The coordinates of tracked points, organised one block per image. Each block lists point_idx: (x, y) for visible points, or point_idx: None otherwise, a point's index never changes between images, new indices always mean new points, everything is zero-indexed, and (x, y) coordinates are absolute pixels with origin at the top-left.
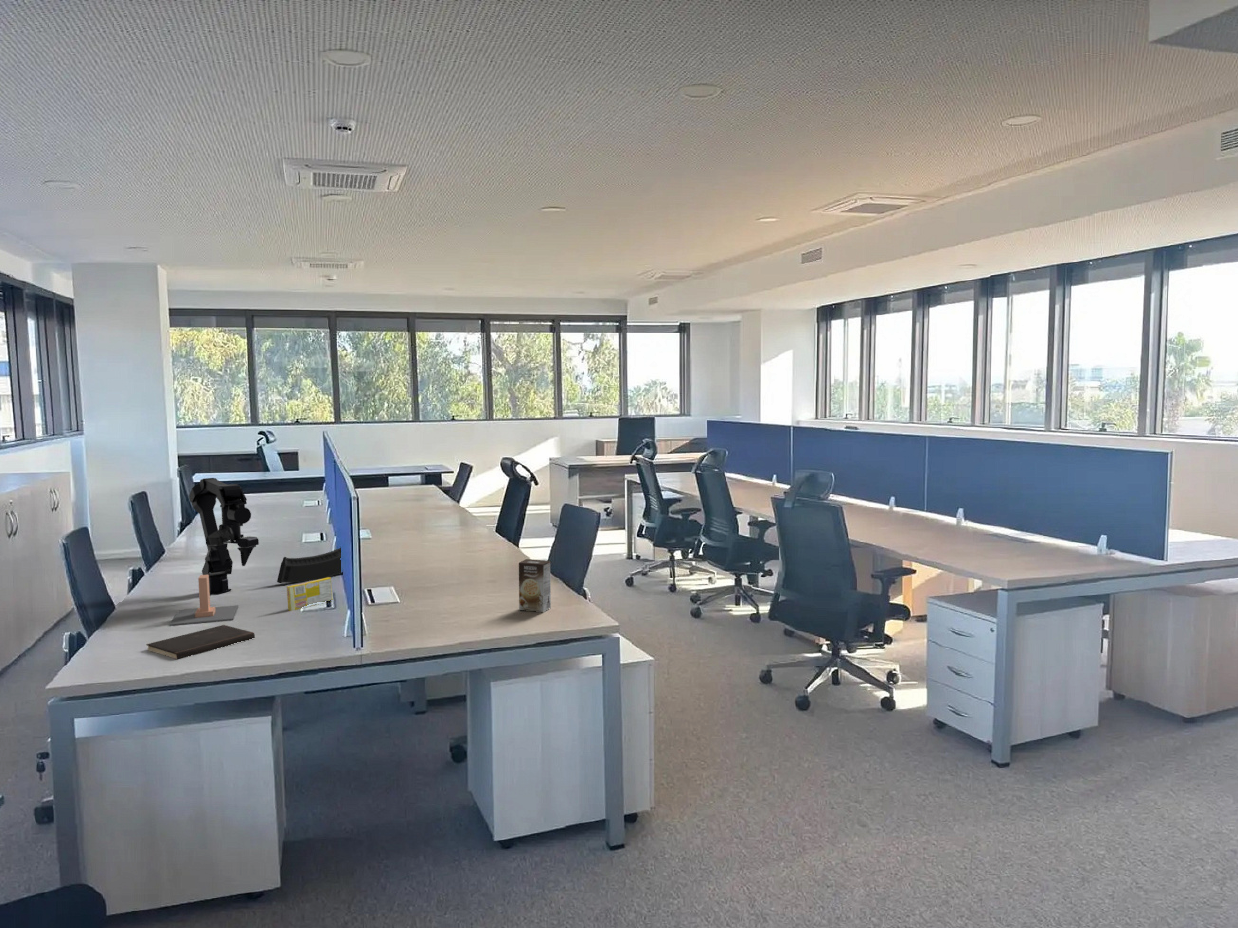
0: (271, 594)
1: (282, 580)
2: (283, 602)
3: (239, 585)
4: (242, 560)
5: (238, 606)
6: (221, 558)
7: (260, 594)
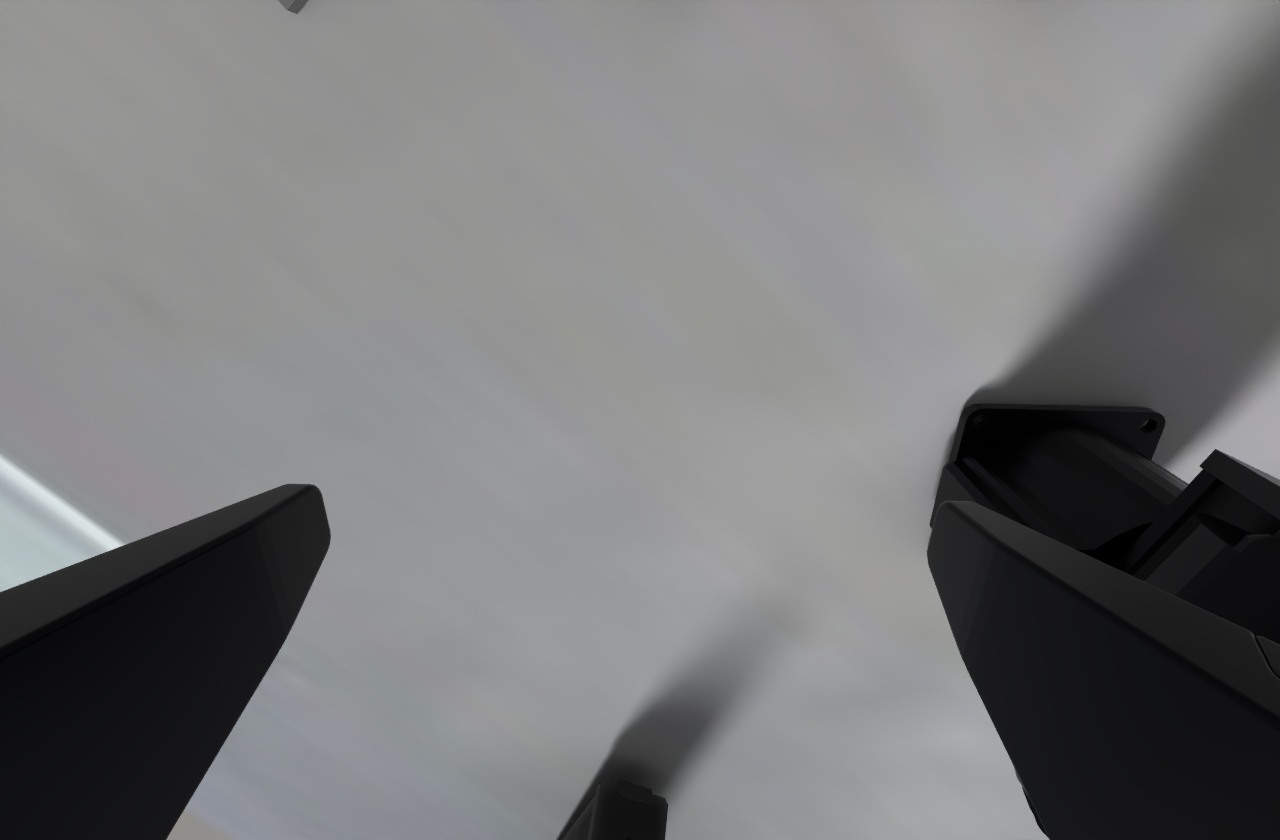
0: (444, 543)
1: (593, 804)
2: (48, 338)
3: (977, 703)
4: (150, 542)
5: (294, 11)
6: (1038, 590)
7: (541, 518)
